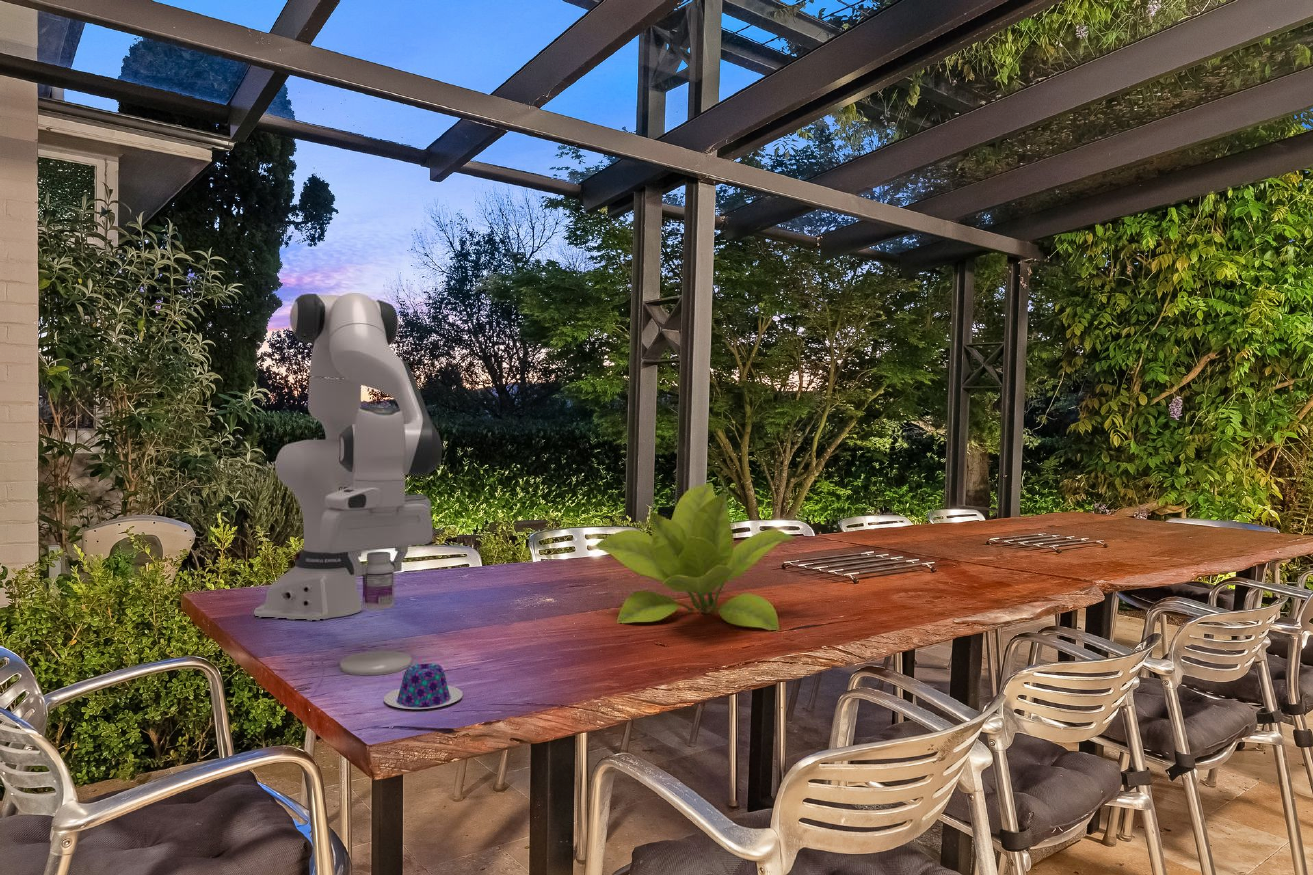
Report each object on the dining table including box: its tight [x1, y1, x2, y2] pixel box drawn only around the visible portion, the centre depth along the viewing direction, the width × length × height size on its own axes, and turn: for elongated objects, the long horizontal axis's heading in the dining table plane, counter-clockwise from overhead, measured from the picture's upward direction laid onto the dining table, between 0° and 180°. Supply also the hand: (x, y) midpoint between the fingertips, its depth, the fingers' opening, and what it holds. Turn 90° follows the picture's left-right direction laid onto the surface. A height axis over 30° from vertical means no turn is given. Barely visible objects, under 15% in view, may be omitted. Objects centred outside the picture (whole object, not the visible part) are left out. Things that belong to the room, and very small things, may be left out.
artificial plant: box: [595, 482, 796, 631], centre depth 191 cm, size 42×43×30 cm
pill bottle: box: [362, 551, 395, 611], centre depth 149 cm, size 5×5×10 cm
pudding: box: [383, 662, 464, 710], centre depth 132 cm, size 12×12×5 cm
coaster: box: [339, 650, 412, 676], centre depth 150 cm, size 12×12×1 cm
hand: (378, 573), depth 149 cm, fingers closed on pill bottle, 5 cm apart
